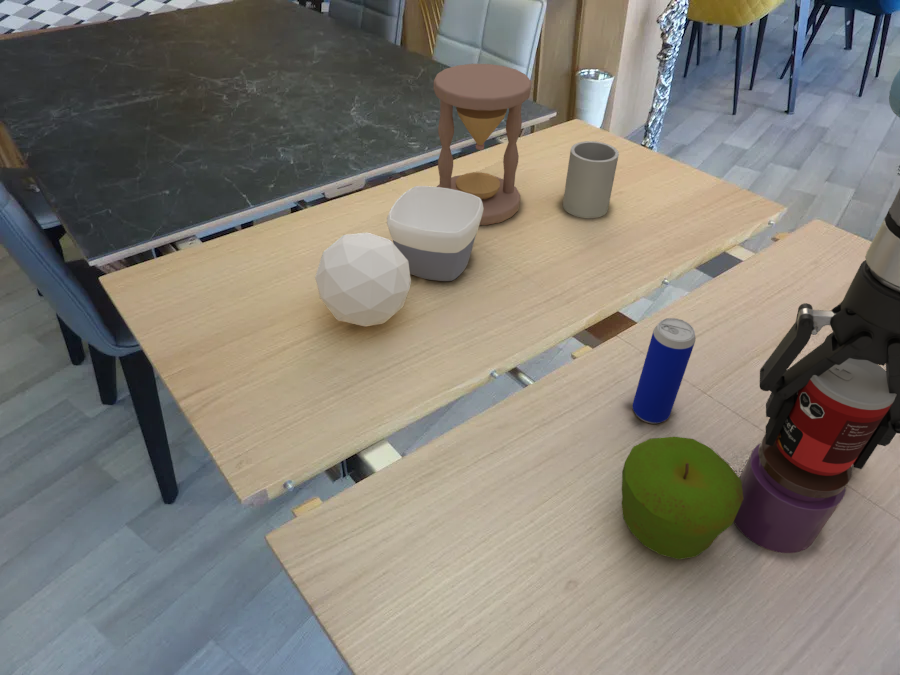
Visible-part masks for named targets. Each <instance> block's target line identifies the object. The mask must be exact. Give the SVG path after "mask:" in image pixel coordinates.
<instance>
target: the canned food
mask: <svg viewBox="0 0 900 675" xmlns="http://www.w3.org/2000/svg"><path fill="white" fill-rule="evenodd" d="M896 395H897V394H895V393H889V389H888V383H887V377H886V369H884V368H883V367H882V365H878V364H874V363H872V362H870V361H868V360H856V359H852V358H849V359H847V360H846V361H845V362H843V363H842V364H840V365H834V366H833V367H831V368H830V369H828V370H827V371H826V372H824V373H823V374H821V375H820V376H819V377H818V376H816V375H813V376H812V378H811V379H810V380H809V382H808V384H807V385H806V386H805V387H803V388H802V389H800V390H799V391H798V392H796V393H795V394H794V406H793V408H792V409H791V411H790V413H789V415H788V417H787V419H786V421H785V423H784V425H783V427H782V429H781V431H780V433H779V435H778V437H777V439H776V444H777V447H778V449H779V450H780V452H781V453H782V454H783V455H784V457H785V458H787V459H788V460H789V461H790V462H791V463H793V464H794V465H796V466H797V467H799V468H801V469H803V470H805V471H808V472H810V473H813V474H817V475H824V476H833V475H838V474H840V473H842V472H844V471H846V470H847V469H849V468H850V467H851V466H852V465H853V463H854V462H855V460H856V459H857V457H858V456H859V454H860V453H861V451H862V450H863V448H864V447H865V445H866V443H867V442H868V440H869V439H870V437H871V436H872V434H873V433H874V431H875V430H876V428H877V427H878V425H879V424H880V422H881V421H882V419H883V418H884V416H885V415H886V413H887V412H888V410H889V408H890V407H891V405H892V403H893V402H894V400H895V397H896ZM852 467H853V466H852Z"/></svg>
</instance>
